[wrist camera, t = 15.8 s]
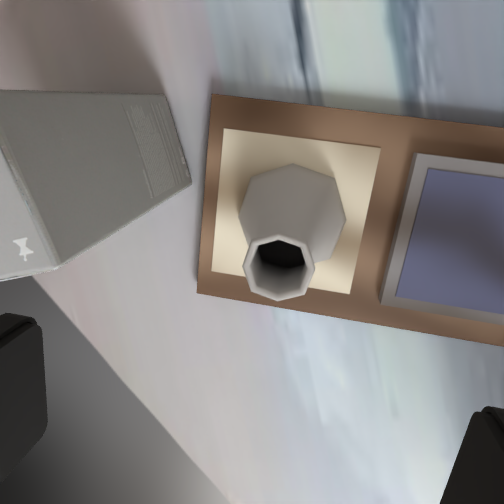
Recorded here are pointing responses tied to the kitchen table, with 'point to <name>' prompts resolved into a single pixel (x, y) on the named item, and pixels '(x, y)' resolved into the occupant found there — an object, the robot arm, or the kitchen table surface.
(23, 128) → the skincare box
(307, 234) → the flask
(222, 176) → the board
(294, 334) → the kitchen table surface
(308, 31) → the kitchen table surface
